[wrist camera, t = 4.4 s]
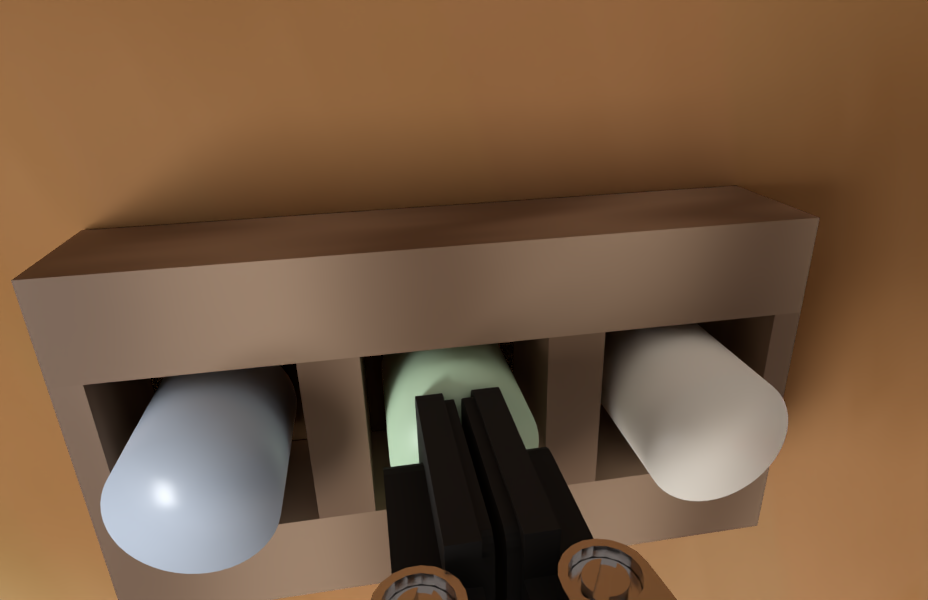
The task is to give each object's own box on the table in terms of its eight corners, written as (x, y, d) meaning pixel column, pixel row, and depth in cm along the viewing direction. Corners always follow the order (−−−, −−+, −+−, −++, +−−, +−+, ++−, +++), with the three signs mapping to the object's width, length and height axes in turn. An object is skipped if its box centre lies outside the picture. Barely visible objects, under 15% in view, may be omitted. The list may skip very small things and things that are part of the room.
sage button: (500, 305, 15) (540, 376, 12) (500, 410, 16) (537, 500, 13) (376, 317, 15) (383, 394, 12) (386, 423, 16) (394, 520, 13)
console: (736, 185, 15) (820, 217, 13) (697, 453, 18) (757, 525, 16) (81, 230, 13) (10, 280, 10) (163, 524, 16) (125, 622, 14)
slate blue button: (287, 338, 14) (268, 428, 11) (304, 449, 15) (292, 560, 12) (144, 351, 13) (79, 449, 10) (173, 465, 15) (124, 584, 11)
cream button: (706, 298, 15) (800, 367, 12) (692, 402, 16) (774, 491, 13) (589, 309, 15) (654, 384, 12) (583, 416, 16) (641, 510, 13)
